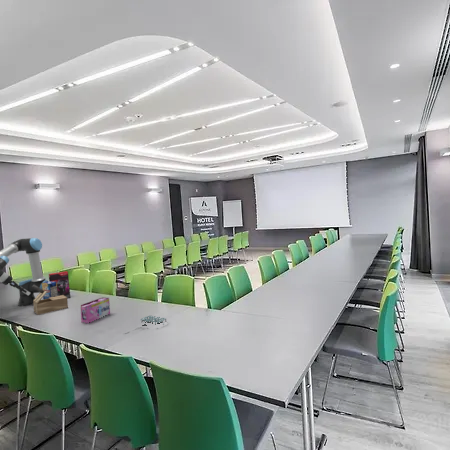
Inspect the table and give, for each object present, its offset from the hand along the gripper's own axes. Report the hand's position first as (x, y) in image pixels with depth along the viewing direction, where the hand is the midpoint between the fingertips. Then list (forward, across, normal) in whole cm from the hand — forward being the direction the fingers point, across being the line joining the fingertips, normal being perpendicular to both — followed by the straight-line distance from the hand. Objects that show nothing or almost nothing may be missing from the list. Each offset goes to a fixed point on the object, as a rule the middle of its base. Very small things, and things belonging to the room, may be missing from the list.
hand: (27, 293), depth 264 cm
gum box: (+38, +58, +11) cm, 71 cm away
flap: (+10, 0, +3) cm, 10 cm away
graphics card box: (+37, -34, +11) cm, 52 cm away
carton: (+25, 0, -1) cm, 25 cm away
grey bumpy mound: (+48, +111, +21) cm, 123 cm away
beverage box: (+28, -17, +1) cm, 33 cm away
